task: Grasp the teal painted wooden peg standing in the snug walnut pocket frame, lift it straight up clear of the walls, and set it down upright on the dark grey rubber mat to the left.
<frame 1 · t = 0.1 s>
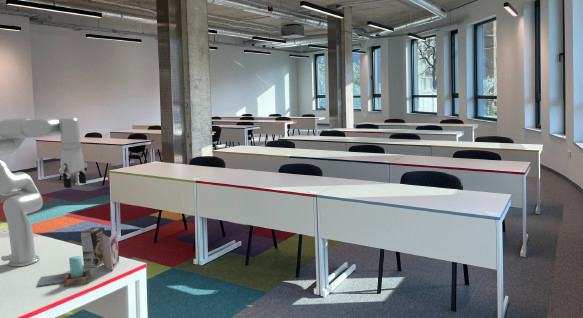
hand: (75, 185, 208), 37 cm above the table, tool pointing down, fingers open, 9 cm apart
coffee box: (96, 264, 217), on the table
peg: (76, 269, 196), in the pocket
pocket: (77, 281, 197), on the table
greeting card: (109, 267, 212), on the table
mat: (52, 280, 198), on the table
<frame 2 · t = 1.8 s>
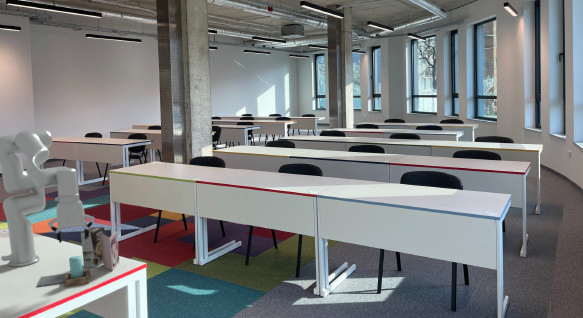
hand: (73, 240, 194), 18 cm above the table, tool pointing down, fingers open, 9 cm apart
nothing on the table moved.
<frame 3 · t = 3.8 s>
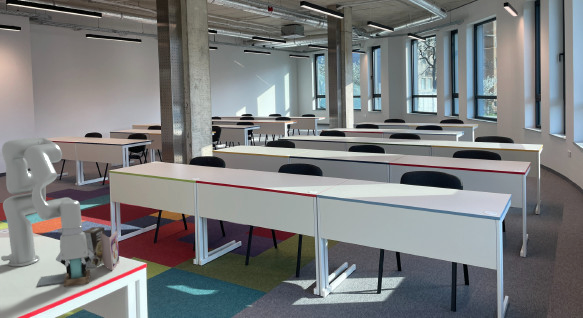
hand: (76, 273, 196), 3 cm above the table, tool pointing down, fingers closed on peg, 4 cm apart
peg: (76, 269, 196), in the pocket, touching gripper
everything else where it was.
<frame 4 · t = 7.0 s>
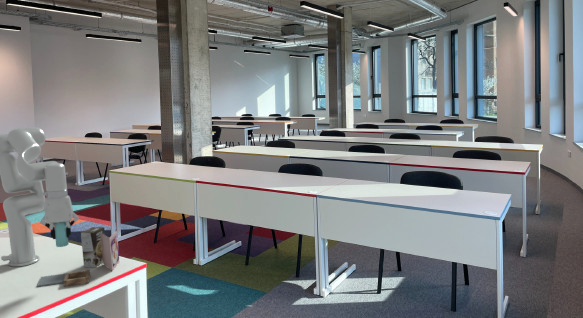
hand: (61, 237, 195), 19 cm above the table, tool pointing down, fingers closed on peg, 4 cm apart
peg: (61, 233, 195), point 20 cm above the table, touching gripper
everything else where it was.
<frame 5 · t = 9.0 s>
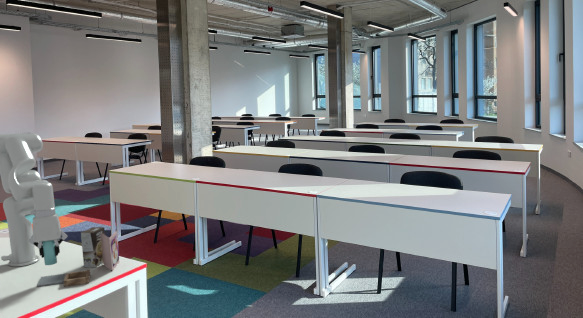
hand: (50, 255, 197), 11 cm above the table, tool pointing down, fingers closed on peg, 4 cm apart
peg: (49, 251, 197), point 13 cm above the table, touching gripper
everything else where it was.
when the fingers open (5 cm above the table, at t = 10.4 s): peg drops 1 cm, resting on mat.
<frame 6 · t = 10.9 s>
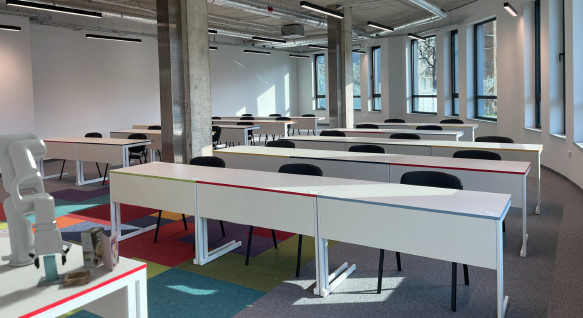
hand: (51, 266, 198), 6 cm above the table, tool pointing down, fingers open, 9 cm apart
peg: (50, 267, 198), on the mat, point 6 cm above the table
everything else where it was.
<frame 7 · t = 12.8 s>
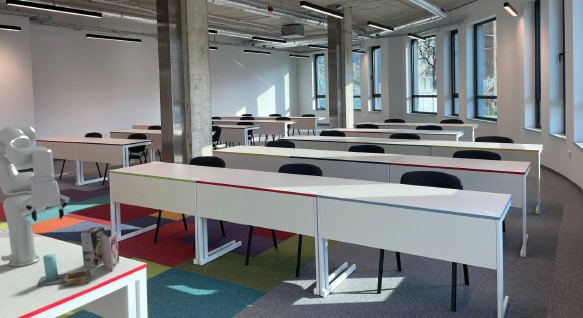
hand: (48, 219, 198), 25 cm above the table, tool pointing down, fingers open, 9 cm apart
nothing on the table moved.
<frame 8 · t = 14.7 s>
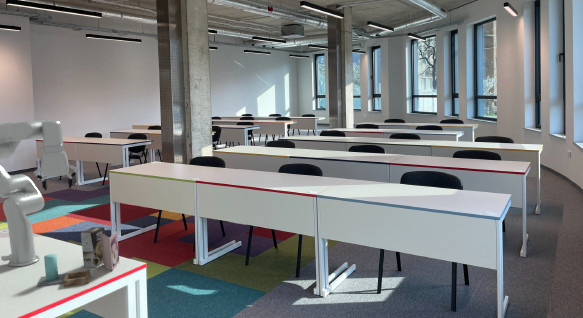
hand: (58, 188, 207), 36 cm above the table, tool pointing down, fingers open, 9 cm apart
nothing on the table moved.
at the end: peg 0.1 cm from the mat (horizontally); peg tilted 2°; peg point 5.7 cm above the table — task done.
